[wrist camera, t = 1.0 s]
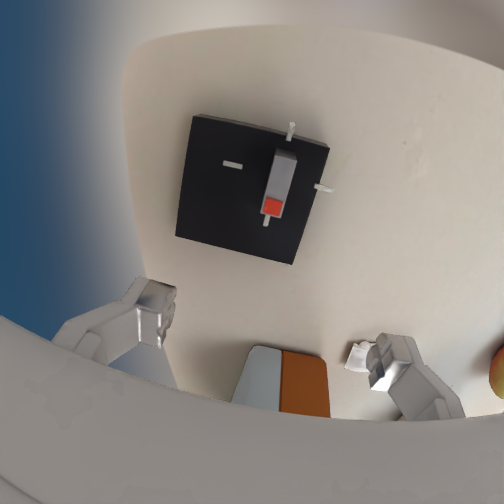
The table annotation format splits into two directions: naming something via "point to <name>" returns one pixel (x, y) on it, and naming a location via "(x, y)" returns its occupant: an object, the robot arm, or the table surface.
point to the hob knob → (278, 182)
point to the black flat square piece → (245, 187)
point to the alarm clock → (284, 383)
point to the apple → (497, 373)
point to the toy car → (358, 357)
